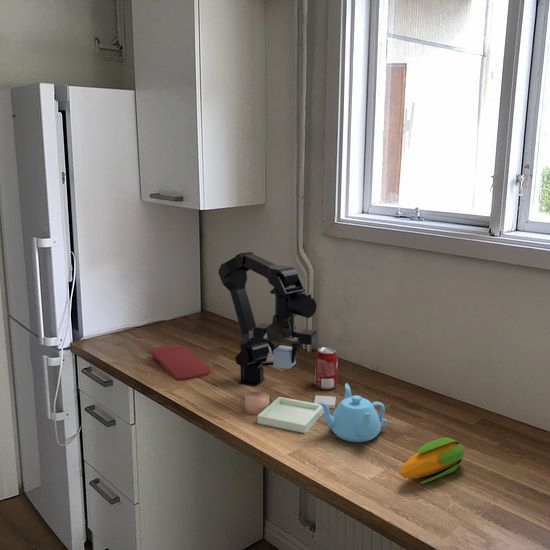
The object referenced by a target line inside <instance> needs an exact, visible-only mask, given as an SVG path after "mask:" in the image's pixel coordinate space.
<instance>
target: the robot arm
mask: <svg viewBox="0 0 550 550" xmlns="http://www.w3.org/2000/svg"><path fill="white" fill-rule="evenodd" d="M248 271H252V272H253V273H256V274H257V275H260V276H262V277H264V278H266V279H267V282H268V283H269V284H268V285H271V287H273V288H272V289H271V290H270V291H269V293H270V294H272V295H274V296H275V297H274V315H273V316H272V322H271V323H270V324H269V323H258V325H257V324H256V321H255V317H254V314H253V310H252V307H251V302H250V300H249V297H248V293H247V289H246V284H247V281H248ZM218 275H219V278H220V280H221V281H220V282H221V284H222V285H223V286H224V287H225V288H226V289H227V290H228V291H229V292H230V295H231V300H232V304H233V306H234V310H235V311H234V312H235V314H236V318H237V321H238V324H239V328H240V332H241V339H240V343H239V346H240V347H239V348H240V351H239V352H238V354H236V356H235V357H234V358H235V363H236V364H237V365H238V366H240V379H239V380H238V381H237V382H238V384H244V385H250V386H255V387H256V386H258V385H259V384H261V383H262V382H263V381H265V379H266V378H265V374H264V370H265V369H264V366H263V363H262V362H266V360H267V356H268V353H269V346H270V348H271V350H272V353H273V350H275V349H276V348H277V347H279V346H280V345H279V344H280V343H283V342H284V341H285V339H293V342H291V343H290V345H291V347H292V363H294V362H295V359H296V360H297V357H298V354H299V352H300V350H301V348H302V346H303V345H308V346H310V345H313V344H314V343H315V342H316V341H318V339H319V334H318V332H317V330H314V329H306V328H304V329H303V330H302V331H296V330H297V325H296V324H295V322H296V320H295V319H296V316H299V317H301V318H306V319H310V318H312V317H313V316H314V315H315V313H316V310H317V306H318V305H317V303H316V300H315V299H314V298H313V297H312V293H311V292H306V288H305V285H304V283H303V281H302V279H301V276H300V275H299V273H298V270H297V268H295V267H294V266H290V265H289V266H288V265H281V264H280V265H279V264H276V263H273V262H271V261H269V260H267V259H264V258H263V257H261V256H258V255H256V254H254V253H253V251H246V252H245V251H244V252H240V253H237V254H236V255H235V256H234V257H232V258H230V259H229V260H227V261H226V262H224V263H221V264H220V266H219V269H218Z"/></svg>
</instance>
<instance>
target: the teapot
mask: <svg viewBox="0 0 550 550" xmlns="http://www.w3.org/2000/svg"><path fill="white" fill-rule="evenodd" d="M344 388H345V389H344V398H343V399H342V400H341V401H340V402H339V404H338V405H337V407H335V408H334V412H333V413H332V414H331V413H330V412H331V411H330V408H329V407H328V405H327V404H326V403H324V402H317V403H319V404H320V405H322V407H323V409H324V413H323V417H324V420H325V423H326V425H328V426H329V427H330V428H331V430H332V432H333V433H334V434H335V435H336V436H337V437H338V438H339V439H341V440H343V441H345V442H350V443H365V442H369V441H371V440H373V439H375V438H376V437H378V435H379V434H380V432H381V430H382V428H383V427H385V426H386V425H387V419H386V418H383V417H384V415H385V412H386V409H385V405H384V404H383V402H380V401H373V402H371V401H370V400H368V399H366V398H364V397H362V396H360V395H352V391H351V387H350V384H349V383H347V382H346V383H345V384H344ZM376 406H380V413H378V412H377V410H376V408H375V407H376Z"/></svg>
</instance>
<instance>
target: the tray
mask: <svg viewBox="0 0 550 550" xmlns="http://www.w3.org/2000/svg"><path fill="white" fill-rule="evenodd" d="M322 415H324V409H323V407H322V405H320V404H315V403H314V402H309V401H303V400H298V399H293V398H287V397H282V396H278V397H277V398H276V399H275V400H273V401H272V402H271V403H270V405H269V406H268V407H267V408H266V409H264V410H263V411H262V412H261V413H260V414H259V415H257V424H259V425H264V426H270V427H274V428H279V429H283V430H288V431H293V432H297V433H302V434H307V432H308V431H309V430H310V429H311V428H312V426H314V424H316V422H317V421H318V420H319V419H320V418H321V416H322Z"/></svg>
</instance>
